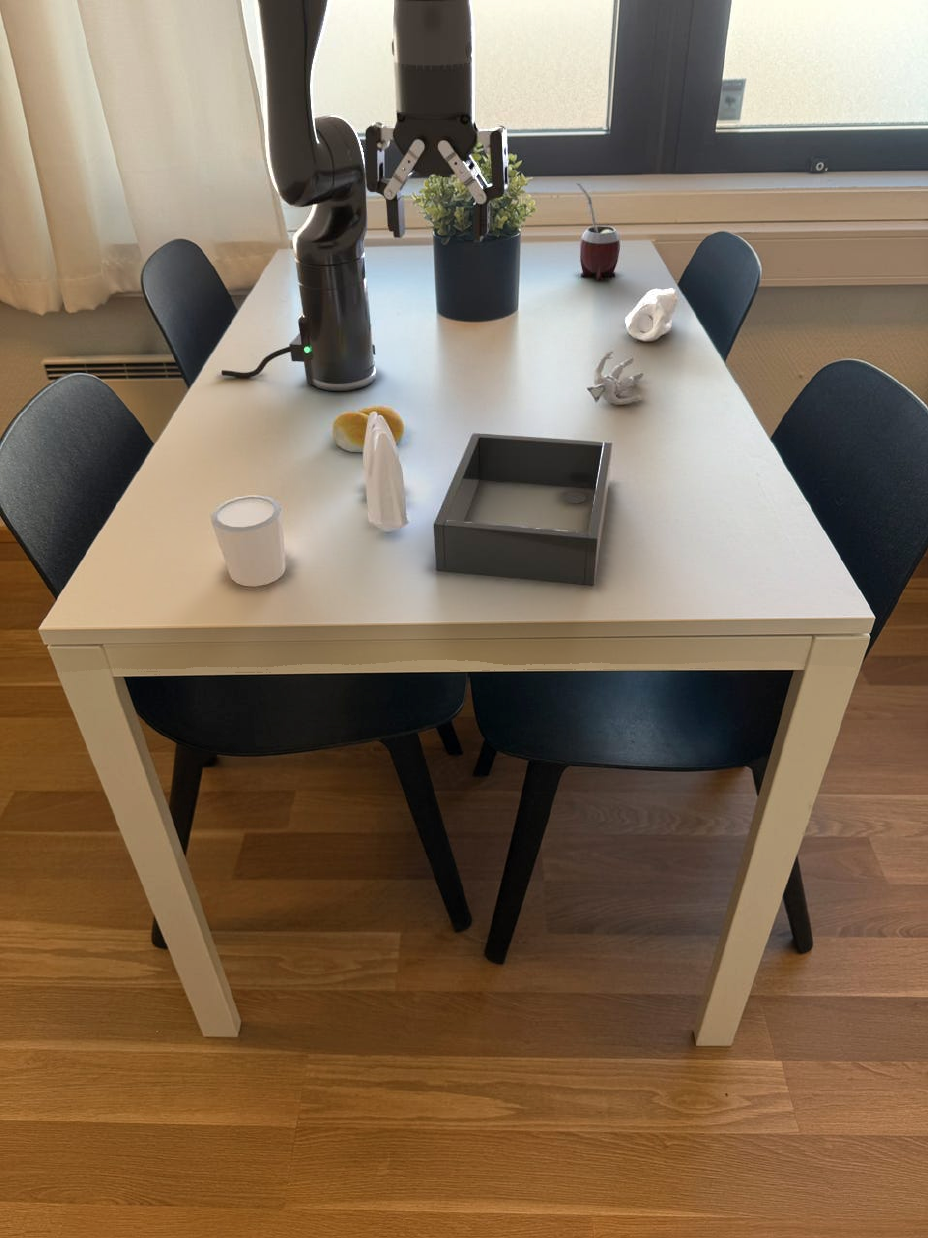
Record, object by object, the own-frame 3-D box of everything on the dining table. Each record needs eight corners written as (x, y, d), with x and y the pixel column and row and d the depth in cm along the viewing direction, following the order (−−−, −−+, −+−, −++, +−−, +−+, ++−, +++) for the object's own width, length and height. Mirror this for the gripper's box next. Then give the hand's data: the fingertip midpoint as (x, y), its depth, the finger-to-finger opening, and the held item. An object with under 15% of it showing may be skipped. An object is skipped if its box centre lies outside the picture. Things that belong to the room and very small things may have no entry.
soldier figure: (655, 392, 125) (636, 399, 114) (627, 412, 127) (606, 421, 117) (625, 346, 124) (603, 348, 114) (597, 367, 127) (573, 372, 116)
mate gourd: (619, 281, 160) (626, 191, 151) (575, 282, 160) (580, 192, 151) (614, 268, 166) (621, 180, 157) (572, 269, 166) (576, 182, 157)
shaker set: (410, 539, 95) (403, 445, 88) (370, 543, 94) (360, 449, 87) (400, 484, 104) (393, 395, 97) (365, 487, 104) (355, 398, 97)
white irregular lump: (650, 314, 147) (685, 276, 141) (666, 367, 141) (704, 329, 135) (609, 297, 143) (643, 256, 137) (625, 350, 137) (661, 310, 131)
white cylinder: (228, 554, 93) (215, 496, 89) (294, 549, 94) (284, 491, 89) (219, 592, 88) (205, 533, 84) (289, 587, 88) (278, 528, 84)
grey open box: (435, 570, 90) (433, 524, 87) (473, 474, 105) (472, 432, 102) (593, 585, 87) (597, 538, 84) (608, 485, 103) (612, 442, 99)
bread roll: (416, 441, 113) (414, 411, 110) (353, 460, 109) (350, 430, 106) (384, 417, 118) (382, 389, 116) (323, 435, 114) (319, 406, 112)
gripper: (516, 51, 84) (511, 231, 94) (372, 49, 87) (383, 224, 97) (501, 62, 79) (498, 252, 89) (348, 59, 81) (362, 244, 91)
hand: (438, 237), depth 93 cm, fingers open, 8 cm apart
